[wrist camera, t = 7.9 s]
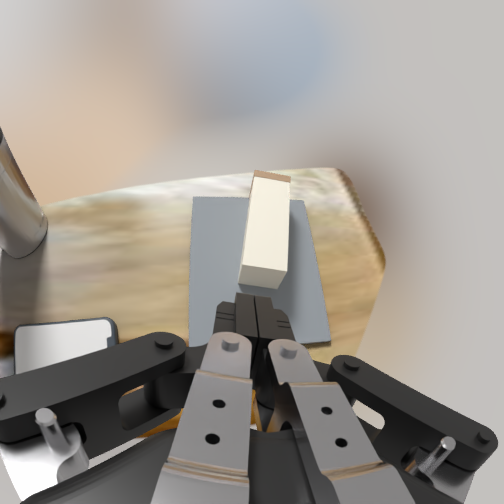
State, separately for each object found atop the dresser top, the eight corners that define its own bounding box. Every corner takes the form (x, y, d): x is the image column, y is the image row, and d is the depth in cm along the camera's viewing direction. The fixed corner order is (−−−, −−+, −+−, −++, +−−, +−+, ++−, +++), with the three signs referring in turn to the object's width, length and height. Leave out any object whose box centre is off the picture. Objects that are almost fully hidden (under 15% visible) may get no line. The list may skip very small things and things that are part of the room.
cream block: (287, 271, 32) (290, 176, 40) (241, 264, 31) (254, 170, 39) (277, 289, 36) (282, 199, 44) (237, 283, 36) (249, 193, 44)
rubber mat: (189, 348, 31) (189, 347, 31) (193, 199, 42) (193, 196, 42) (329, 341, 34) (331, 340, 33) (302, 202, 45) (303, 200, 44)
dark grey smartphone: (21, 390, 24) (125, 389, 28) (14, 388, 23) (121, 388, 26) (19, 327, 28) (117, 318, 32) (13, 323, 27) (113, 314, 31)
